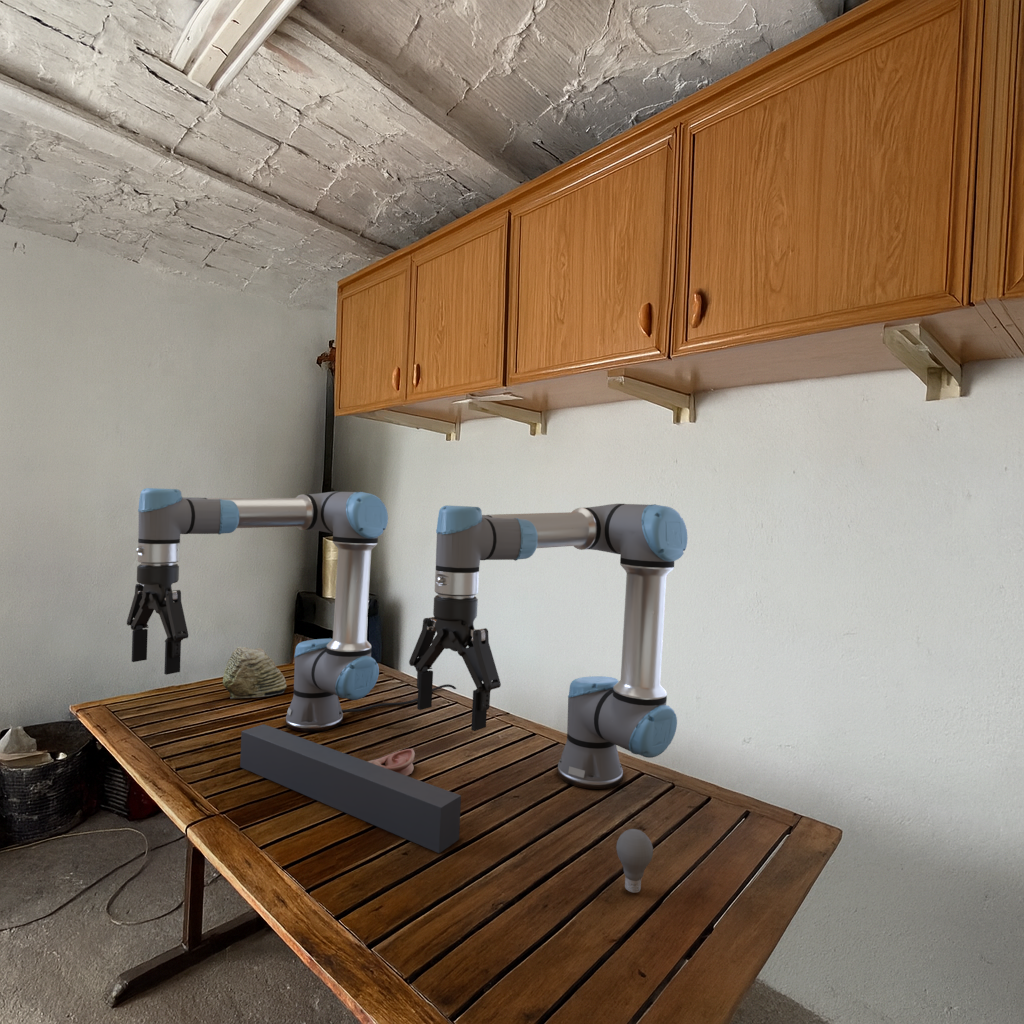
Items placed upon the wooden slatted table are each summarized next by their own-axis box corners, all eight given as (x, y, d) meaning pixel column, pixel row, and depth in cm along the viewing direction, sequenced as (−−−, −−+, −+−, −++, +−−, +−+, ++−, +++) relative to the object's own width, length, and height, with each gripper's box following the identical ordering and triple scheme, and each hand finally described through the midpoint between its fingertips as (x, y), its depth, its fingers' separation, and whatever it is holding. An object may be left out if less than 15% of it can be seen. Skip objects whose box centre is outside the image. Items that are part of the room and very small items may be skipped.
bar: (240, 767, 146) (241, 731, 146) (262, 758, 151) (263, 723, 151) (439, 853, 114) (441, 807, 114) (459, 839, 119) (461, 795, 119)
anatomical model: (346, 759, 143) (368, 741, 154) (346, 777, 143) (367, 757, 154) (402, 767, 140) (420, 748, 152) (401, 785, 140) (419, 764, 152)
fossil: (218, 695, 195) (220, 647, 195) (278, 685, 208) (279, 640, 207) (228, 703, 189) (230, 653, 188) (289, 692, 201) (290, 645, 201)
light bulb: (610, 879, 108) (613, 822, 108) (644, 879, 109) (647, 822, 109) (619, 902, 102) (622, 840, 102) (655, 901, 103) (658, 840, 103)
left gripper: (110, 559, 134) (107, 659, 134) (171, 570, 119) (167, 682, 120) (147, 557, 140) (144, 652, 140) (209, 568, 126) (205, 674, 126)
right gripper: (393, 587, 114) (387, 704, 115) (494, 607, 98) (488, 744, 98) (424, 584, 120) (419, 696, 120) (525, 603, 103) (519, 732, 104)
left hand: (155, 666), depth 130 cm, fingers open, 13 cm apart
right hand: (450, 718), depth 109 cm, fingers open, 13 cm apart
